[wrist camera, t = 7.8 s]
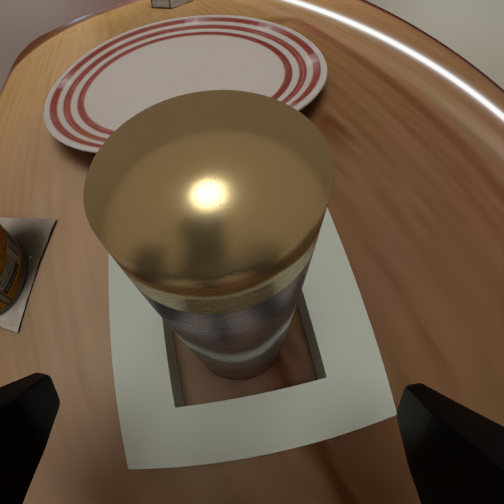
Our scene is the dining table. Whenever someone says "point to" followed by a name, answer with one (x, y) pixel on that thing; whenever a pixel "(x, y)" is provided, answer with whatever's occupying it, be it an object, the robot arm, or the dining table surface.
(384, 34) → the dining table surface
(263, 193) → the jar with gold lid
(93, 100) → the dinner plate
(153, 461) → the white flat square frame
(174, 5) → the syrup box
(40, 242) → the condiment
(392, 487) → the dining table surface
